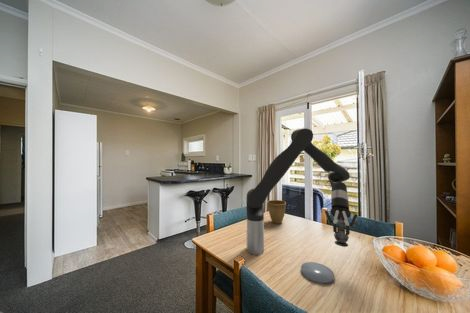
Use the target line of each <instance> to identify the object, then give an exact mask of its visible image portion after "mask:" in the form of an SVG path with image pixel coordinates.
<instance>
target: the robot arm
mask: <svg viewBox="0 0 470 313" xmlns="http://www.w3.org/2000/svg"><path fill="white" fill-rule="evenodd" d="M313 138H314V133H313V131H312V129H311V128H308V127H303V128H297V129H295V130H294V131H293V132H292V133H291V136H290V141H291V142H290V143H289V146H287V148H286V149H284V150H282V152H280V153H279V154H278V155H277V156H276V157H275V158H274V159H273V160H272V161H271V163H270V164H269V166H268V167H267V169H266V171H265V173H264V174H263V176H262V179H261V180H260V181H259V183H258V184H257V185H256V187H254V188H251V189H250V190H248V191H247V193H246V252H247V254H251V255H253V256H257V255H261V254H264V252H265V229H264V228H265V224H264V222H265V219H264V218H265V216H264V203H265V202H266V200H267V198H268V196H270V193H271V192H272V190H273V189H274V187H276V185H277V184H278V183H279V182H280V181H281V180H282V178H283V177H284V176H285V174H286V173H287V172H288V171H289V169H290V168H291V167H292V165H293V164H294V163H295V161H296V160H297V159H298V158H299V156H300V154H302V152H305V153H306V154H307V155H308V156H309V157H310V158H311V159H312V160H314V162H316V164H317V165H318V166H319V167H320V168H321V169H322V170H323V171H324V172H326V173H328V175H327V179H328V181H329V183H330V186H331V197H330V200H331V202H330V204H331V208H330V210H324V216H325V218H326V220H327V221H328V224H329V225H332V228H333V230H332V231H333V233H334V234H337V220H338V219H340V218H342V220H344V221H345V228H346V229H345V234H346V236H348V237H349V235H350V233H351V232H350V231H351V230H350V228H352V229H353V228H354V227H355V224H356V222H357V219H358V214H357V213H356V214H355V213H354V214H353V213H352V212H351V211H350V206H349V205H350V204H349V196H348V187H347V185H346V183H344V182H345V181H348V180H349V179H350V172H349V171H348V169H346V168H344V167H343V166H342V165H340V164H338V163H336V162H335V161H334V160H333V159H332V158H331V157H330V156H329V155H328V154H327V153H325V152H324V151H323V150H321V149H320V148H318V146H316V145H315V144H313V142H312V141H313ZM331 216H332V217H333V220H332V218H331ZM350 217H351V222H349V220H348V219H349V218H350Z"/></svg>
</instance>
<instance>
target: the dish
mask: <svg viewBox="0 0 470 313" xmlns="http://www.w3.org/2000/svg"><path fill="white" fill-rule="evenodd" d="M300 271H301V274H302V275H303V277H304V278H305V279H307V280H309V281H310V282H312V283H315V284H319V285H329V284H332V283H333V282H334V281H335V273H334V271H333V270H332V269H331V268H329V267H328V266H327V265H325V264H323V263H319V262H314V261H306V262H303V263H301V266H300Z"/></svg>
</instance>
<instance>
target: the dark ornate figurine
mask: <svg viewBox="0 0 470 313" xmlns="http://www.w3.org/2000/svg"><path fill="white" fill-rule="evenodd" d="M345 227H346V226H345V221H344V220H342V218H340V219H338V220H337V234H335V233H334V234H333V237H334V239H335V241H334V244H335V245H337V246H338V247H342V248H343V247H344V248H346V247H349V244H348V243H347V242H348V241H349V238H350V237H349V235H348V236H346V230H345V229H346V228H345Z"/></svg>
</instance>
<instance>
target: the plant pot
mask: <svg viewBox="0 0 470 313" xmlns="http://www.w3.org/2000/svg"><path fill="white" fill-rule="evenodd" d="M266 204H267V209H268V213H269V216H270V219H271V222H272V223H273V222H274V223H273V224H276V223H280V224H281V223H283V220H284V217H285V213H286V207H287V202H286V201H285V200H281V199H279V200H278V199H271V200H267V202H266Z"/></svg>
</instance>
